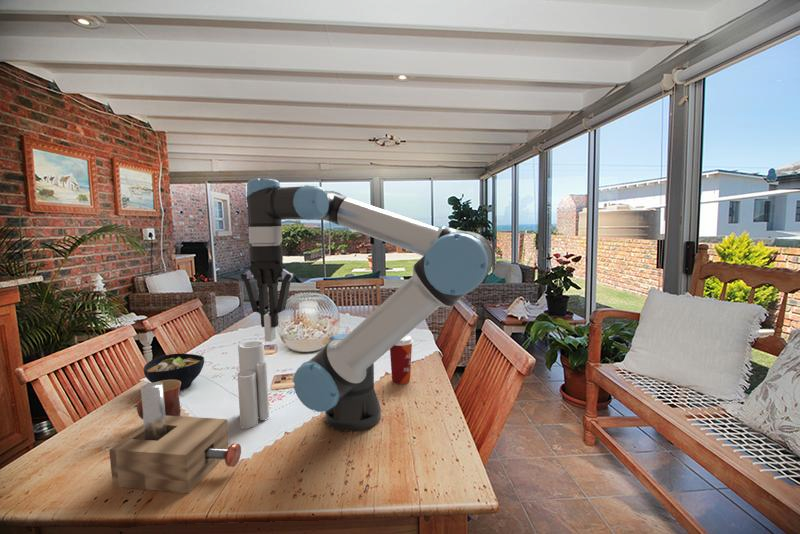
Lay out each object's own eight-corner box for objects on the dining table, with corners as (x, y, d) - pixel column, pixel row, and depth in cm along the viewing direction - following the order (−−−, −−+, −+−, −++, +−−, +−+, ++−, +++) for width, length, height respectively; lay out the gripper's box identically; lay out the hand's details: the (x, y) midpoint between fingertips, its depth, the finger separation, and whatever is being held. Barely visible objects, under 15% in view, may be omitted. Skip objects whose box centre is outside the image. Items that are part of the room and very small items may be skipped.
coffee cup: (413, 385, 125) (413, 341, 123) (388, 385, 125) (387, 341, 123) (412, 375, 133) (412, 334, 132) (389, 375, 133) (388, 334, 132)
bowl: (190, 373, 137) (188, 346, 136) (215, 384, 127) (213, 355, 126) (136, 389, 124) (133, 360, 123) (159, 403, 114) (157, 371, 113)
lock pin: (241, 458, 83) (240, 439, 83) (230, 471, 79) (229, 451, 79) (185, 454, 85) (183, 435, 85) (170, 466, 81) (169, 447, 80)
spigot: (171, 442, 85) (167, 382, 84) (158, 453, 81) (153, 390, 80) (155, 441, 86) (150, 381, 84) (141, 451, 82) (136, 389, 80)
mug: (164, 413, 108) (161, 378, 107) (191, 416, 106) (188, 380, 105) (126, 436, 96) (122, 397, 95) (155, 439, 94) (152, 400, 93)
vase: (242, 410, 109) (238, 342, 107) (268, 406, 112) (265, 339, 109) (239, 429, 99) (235, 355, 96) (269, 424, 101) (265, 351, 99)
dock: (229, 451, 89) (227, 419, 88) (188, 493, 75) (186, 455, 74) (163, 446, 91) (161, 415, 90) (112, 486, 77) (109, 449, 77)
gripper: (297, 243, 95) (301, 336, 97) (248, 244, 96) (253, 334, 99) (285, 245, 87) (289, 345, 90) (232, 245, 89) (237, 343, 92)
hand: (270, 339), depth 94 cm, fingers closed
